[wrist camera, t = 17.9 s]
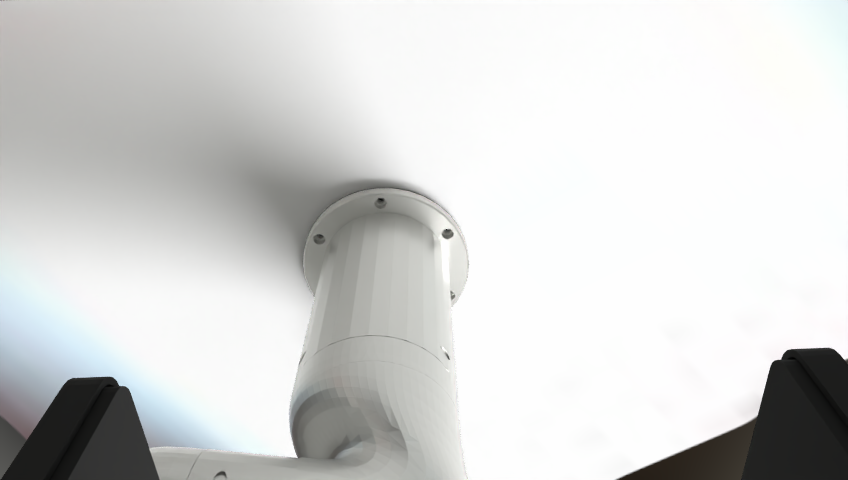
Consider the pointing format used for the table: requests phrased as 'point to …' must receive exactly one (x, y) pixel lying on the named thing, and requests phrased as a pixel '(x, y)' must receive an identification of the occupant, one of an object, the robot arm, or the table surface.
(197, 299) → the table surface
